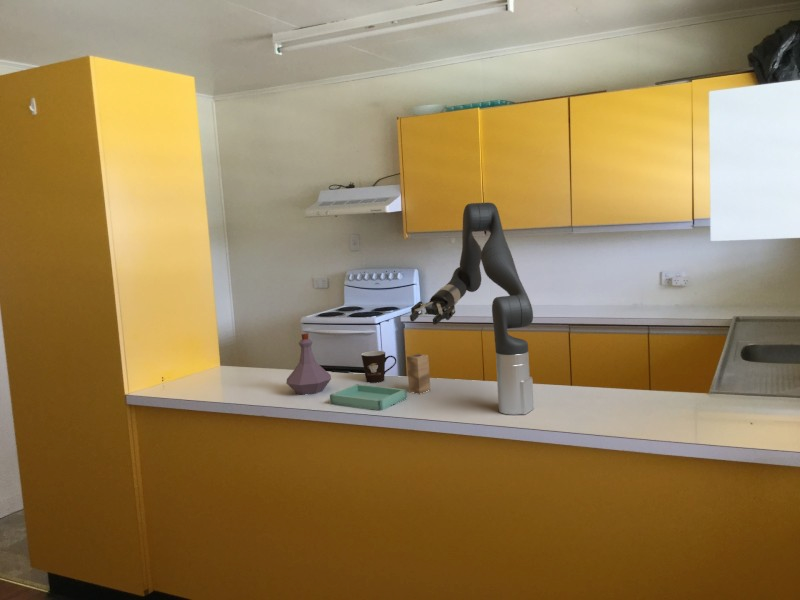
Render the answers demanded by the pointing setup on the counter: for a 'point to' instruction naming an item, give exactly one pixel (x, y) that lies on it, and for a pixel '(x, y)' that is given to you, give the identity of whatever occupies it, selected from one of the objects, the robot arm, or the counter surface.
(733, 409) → the counter surface
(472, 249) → the robot arm
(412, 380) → the tan wooden tall block
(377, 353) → the coffee mug
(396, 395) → the green tray
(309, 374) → the flask
